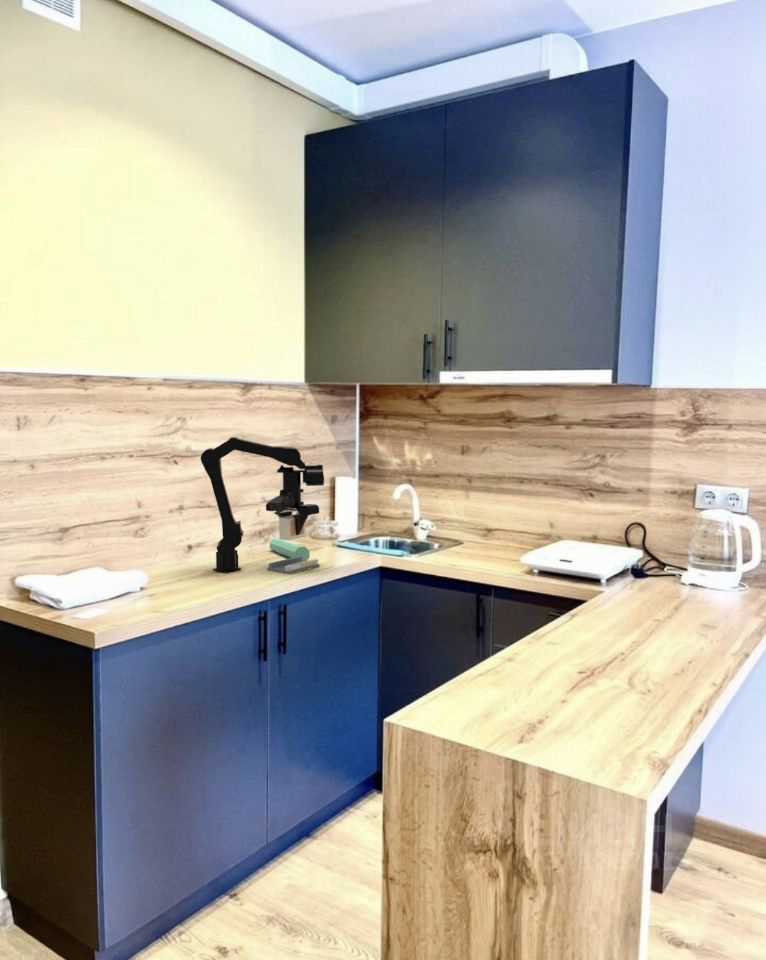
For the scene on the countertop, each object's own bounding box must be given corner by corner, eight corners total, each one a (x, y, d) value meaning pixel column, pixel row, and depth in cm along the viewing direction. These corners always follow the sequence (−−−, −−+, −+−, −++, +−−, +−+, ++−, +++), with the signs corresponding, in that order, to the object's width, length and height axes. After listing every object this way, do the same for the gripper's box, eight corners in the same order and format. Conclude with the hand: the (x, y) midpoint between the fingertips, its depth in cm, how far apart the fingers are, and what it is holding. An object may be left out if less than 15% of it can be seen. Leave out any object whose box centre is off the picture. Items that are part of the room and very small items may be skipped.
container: (269, 534, 274) (297, 543, 252) (283, 539, 277) (312, 549, 255) (264, 549, 273) (291, 560, 252) (278, 554, 276) (306, 565, 255)
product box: (279, 539, 241) (279, 517, 241) (296, 535, 248) (296, 514, 247) (288, 540, 239) (288, 518, 238) (305, 536, 245) (305, 515, 245)
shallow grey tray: (289, 574, 236) (289, 566, 235) (267, 569, 242) (267, 562, 241) (319, 566, 247) (319, 559, 246) (297, 562, 253) (297, 555, 252)
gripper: (253, 486, 241) (254, 534, 242) (295, 490, 230) (296, 541, 231) (277, 483, 250) (278, 530, 251) (320, 487, 239) (320, 535, 240)
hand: (292, 534), depth 243 cm, fingers closed on product box, 4 cm apart
